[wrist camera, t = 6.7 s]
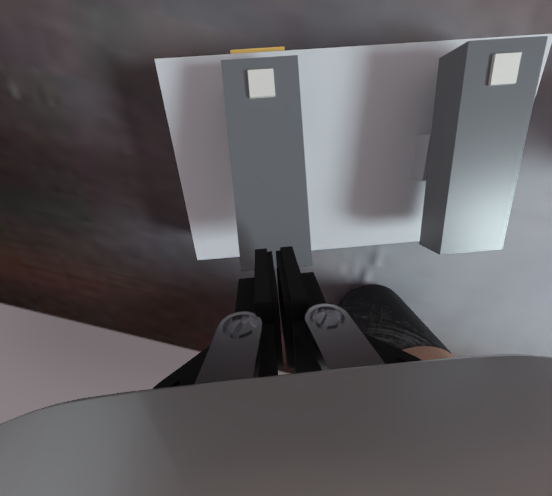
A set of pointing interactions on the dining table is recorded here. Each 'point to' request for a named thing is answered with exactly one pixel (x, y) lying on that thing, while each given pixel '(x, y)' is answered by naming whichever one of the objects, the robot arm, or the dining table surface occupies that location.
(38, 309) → the dining table surface
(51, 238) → the dining table surface
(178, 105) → the switch housing
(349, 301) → the travel mug
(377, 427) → the robot arm
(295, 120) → the block
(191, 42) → the dining table surface
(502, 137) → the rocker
